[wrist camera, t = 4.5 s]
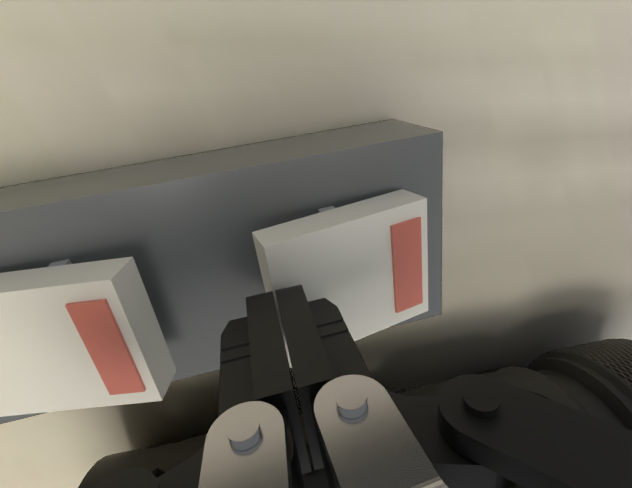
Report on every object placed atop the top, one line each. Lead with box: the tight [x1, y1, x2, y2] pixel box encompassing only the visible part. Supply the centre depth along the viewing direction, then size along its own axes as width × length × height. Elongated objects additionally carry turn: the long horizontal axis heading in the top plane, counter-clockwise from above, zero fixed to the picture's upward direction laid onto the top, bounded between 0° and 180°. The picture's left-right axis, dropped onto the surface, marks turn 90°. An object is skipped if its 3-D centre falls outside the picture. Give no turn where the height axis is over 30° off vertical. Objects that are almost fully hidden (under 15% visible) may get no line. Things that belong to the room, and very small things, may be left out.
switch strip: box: [0, 119, 443, 424], centre depth 14 cm, size 18×7×4 cm, turn 98°
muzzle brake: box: [78, 339, 632, 488], centre depth 17 cm, size 10×28×10 cm, turn 94°
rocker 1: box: [0, 257, 176, 417], centre depth 11 cm, size 5×4×1 cm
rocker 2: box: [252, 189, 428, 368], centre depth 12 cm, size 5×4×1 cm
